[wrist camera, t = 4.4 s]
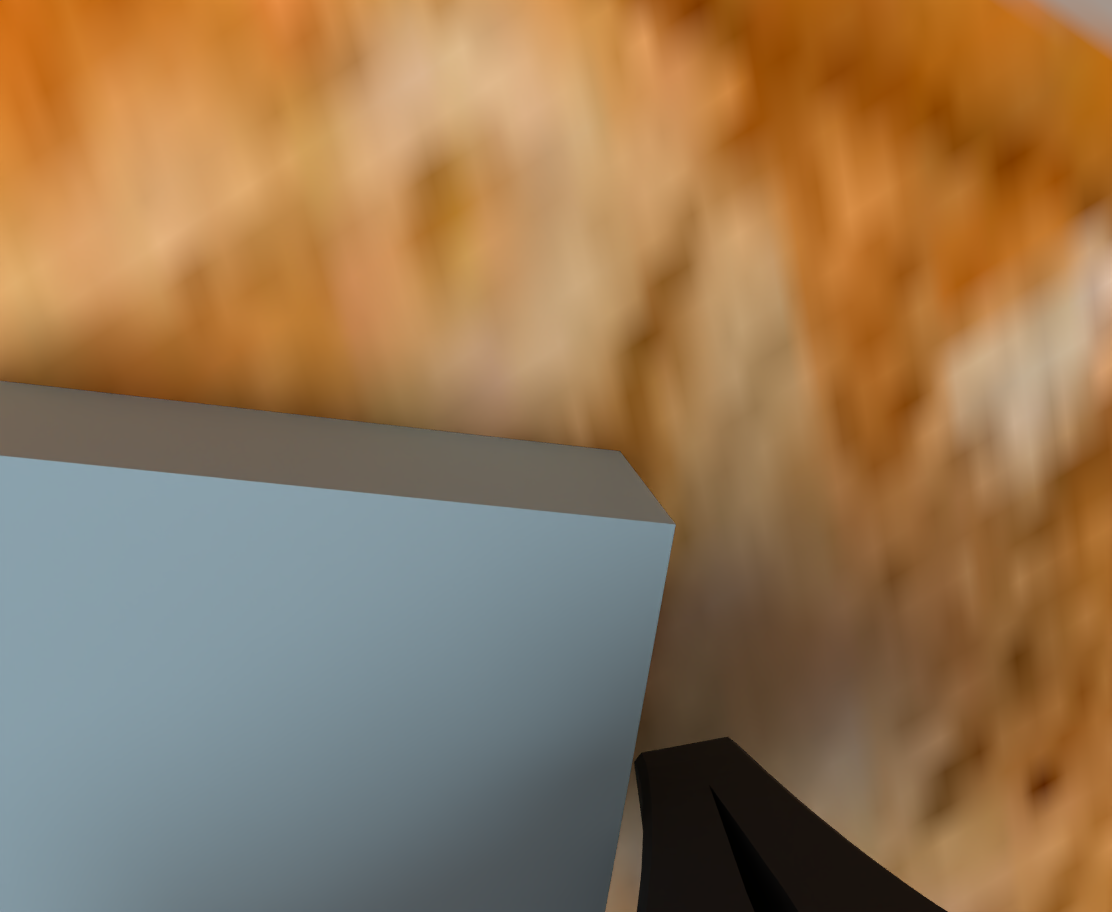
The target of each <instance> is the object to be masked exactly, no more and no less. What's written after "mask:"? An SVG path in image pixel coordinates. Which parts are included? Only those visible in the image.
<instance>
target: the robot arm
mask: <svg viewBox="0 0 1112 912" xmlns="http://www.w3.org/2000/svg"><path fill="white" fill-rule="evenodd" d="M634 765H635V772H636V780H637V788H638V795H639V803H640V811H641V818H642V826H643V849H642V871H641V882H640V890H639V899H638V907H637V912H947V911H946V910H944V909H943V908H941V907H939V906H938V905H936V904H935V903H933V902H932V901H930V900H929V899H927V898H926V897H924V896H923V895H921V894H920V893H919V892H917V891H916V890H914V889H913V888H911V887H910V886H908V885H907V884H906V883H904V882H903V881H902V880H900V879H899V878H897V877H896V876H895V875H893V874H892V873H891V872H889V871H888V870H886V869H885V868H884V867H882V866H881V865H880V864H878V863H877V862H876V861H874V860H873V859H871V858H870V857H869V856H868V855H866V854H865V853H864V852H862V851H861V850H860V849H858V848H857V847H856V846H855V845H853V844H852V843H851V842H849V841H848V840H847V839H846V838H844V837H843V836H842V835H841V834H840V833H838V832H837V831H836V830H835V829H833V828H832V827H831V826H830V825H828V824H827V823H826V822H825V821H824V820H822V819H821V818H820V817H819V816H817V815H816V814H815V813H814V812H812V811H811V810H810V809H809V808H808V807H807V806H805V805H804V804H803V803H802V802H801V801H800V800H798V799H797V798H796V797H795V796H794V795H793V794H791V793H790V792H789V791H788V790H787V789H786V788H785V787H784V786H782V785H781V784H780V783H779V782H778V781H777V780H776V779H774V778H773V777H772V776H771V775H770V774H769V773H768V772H767V771H766V770H765V769H763V768H762V767H761V766H760V765H759V764H758V763H757V762H756V761H755V760H754V759H753V758H752V757H751V756H749V755H748V754H747V753H746V752H745V751H744V750H743V749H742V748H741V747H740V746H739V745H738V744H737V743H735V742H734V741H733V740H731V739H730V738H729V737H724V738H718V739H713V740H708V741H702V742H697V743H692V744H686V745H681V746H676V747H670V748H665V749H659V750H654V751H649V752H643V753H641V754H640V755H639V757H638V758H637V759H636V760H635V761H634Z"/></svg>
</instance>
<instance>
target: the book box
mask: <svg viewBox="0 0 1112 912" xmlns="http://www.w3.org/2000/svg"><path fill="white" fill-rule="evenodd" d="M675 525H676V524H675V523H674V522H673V520H672V519H671V518H670V516H669V515H668V514H667V512H666V511H665V510H664V509H663V507H662V506H661V505H660V503H659V502H658V501H657V499H656V498H655V497H654V495H653V494H652V493H651V491H650V490H649V489H648V487H647V486H646V485H645V484H644V482H643V481H642V480H641V478H640V477H639V476H638V474H637V473H636V472H635V470H634V469H633V468H632V466H631V465H630V464H629V462H628V461H627V460H626V459H625V457H624V456H623V455H622V453H621V452H620V451H614V450H605V449H596V448H587V447H579V446H570V445H561V444H552V443H543V442H535V441H526V440H517V439H508V438H499V437H491V436H482V435H473V434H464V433H455V432H447V431H438V430H429V429H420V428H411V427H403V426H394V425H385V424H376V423H367V422H359V421H350V420H341V419H332V418H323V417H315V416H306V415H297V414H288V413H279V412H271V411H262V410H253V409H244V408H235V407H227V406H218V405H209V404H200V403H191V402H183V401H174V400H165V399H156V398H147V397H139V396H130V395H121V394H112V393H103V392H95V391H86V390H77V389H68V388H59V387H51V386H42V385H33V384H24V383H15V382H7V381H0V912H605V909H606V903H607V898H608V892H609V887H610V881H611V876H612V870H613V865H614V859H615V854H616V848H617V843H618V837H619V832H620V826H621V821H622V816H623V810H624V805H625V799H626V794H627V788H628V783H629V777H630V772H631V766H632V761H633V755H634V750H635V744H636V739H637V733H638V728H639V722H640V717H641V711H642V706H643V701H644V695H645V690H646V684H647V679H648V673H649V668H650V662H651V657H652V651H653V646H654V640H655V635H656V629H657V624H658V618H659V613H660V607H661V602H662V596H663V591H664V585H665V580H666V575H667V569H668V564H669V558H670V553H671V547H672V542H673V536H674V531H675Z"/></svg>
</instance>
